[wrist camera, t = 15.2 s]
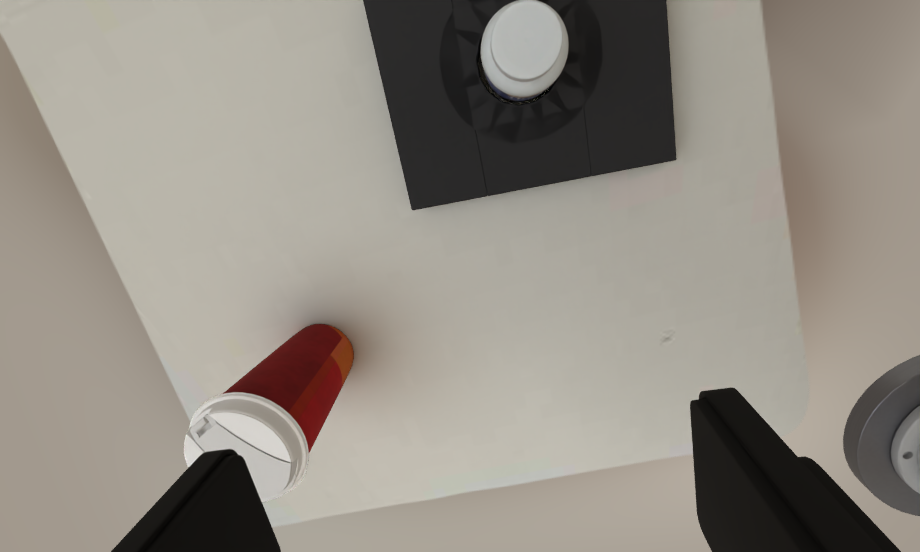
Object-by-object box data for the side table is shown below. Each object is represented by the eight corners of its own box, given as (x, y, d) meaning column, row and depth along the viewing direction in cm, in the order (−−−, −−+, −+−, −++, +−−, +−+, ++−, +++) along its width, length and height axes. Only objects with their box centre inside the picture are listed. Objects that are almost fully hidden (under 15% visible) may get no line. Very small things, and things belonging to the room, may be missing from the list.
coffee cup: (264, 346, 44) (150, 450, 30) (321, 294, 42) (228, 380, 27) (326, 406, 45) (246, 532, 31) (384, 359, 43) (327, 472, 29)
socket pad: (648, -81, 31) (660, -98, 29) (665, 158, 36) (676, 160, 33) (368, -7, 34) (358, -17, 31) (417, 205, 38) (411, 210, 36)
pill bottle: (506, 116, 36) (508, 112, 26) (470, 52, 34) (459, 24, 25) (568, 76, 34) (594, 57, 25) (534, 8, 33) (546, -38, 24)
